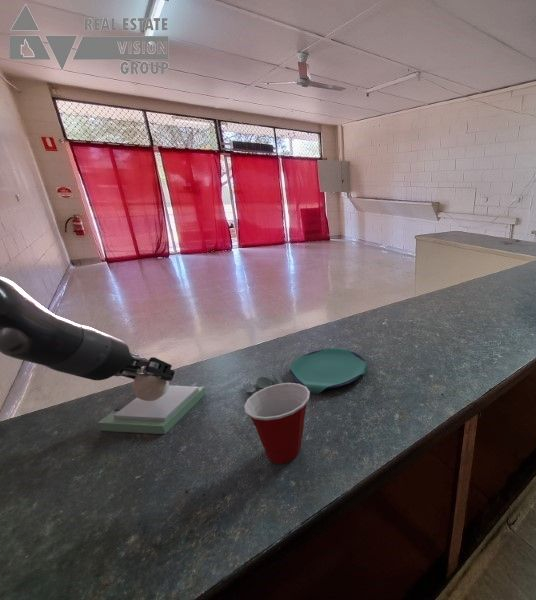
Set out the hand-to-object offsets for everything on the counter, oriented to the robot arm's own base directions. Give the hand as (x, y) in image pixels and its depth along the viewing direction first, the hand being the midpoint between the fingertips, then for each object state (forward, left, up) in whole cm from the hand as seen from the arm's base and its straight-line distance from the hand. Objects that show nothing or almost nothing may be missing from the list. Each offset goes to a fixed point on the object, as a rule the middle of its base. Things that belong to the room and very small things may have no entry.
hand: (155, 375), depth 67 cm
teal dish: (+29, +13, -8) cm, 33 cm away
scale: (0, -2, -8) cm, 8 cm away
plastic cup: (+31, -11, -8) cm, 34 cm away
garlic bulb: (0, -2, -5) cm, 5 cm away
